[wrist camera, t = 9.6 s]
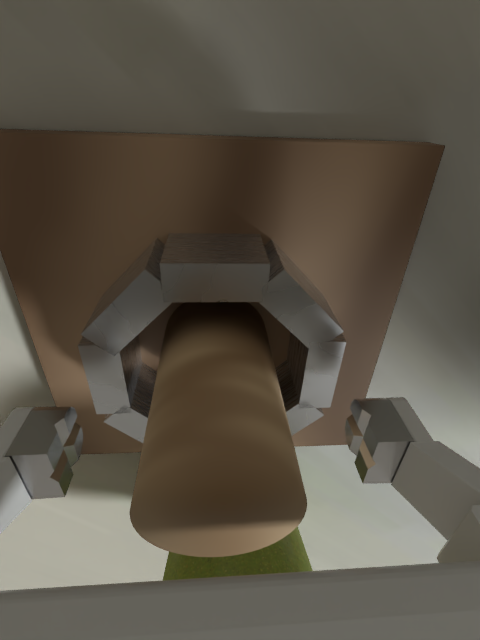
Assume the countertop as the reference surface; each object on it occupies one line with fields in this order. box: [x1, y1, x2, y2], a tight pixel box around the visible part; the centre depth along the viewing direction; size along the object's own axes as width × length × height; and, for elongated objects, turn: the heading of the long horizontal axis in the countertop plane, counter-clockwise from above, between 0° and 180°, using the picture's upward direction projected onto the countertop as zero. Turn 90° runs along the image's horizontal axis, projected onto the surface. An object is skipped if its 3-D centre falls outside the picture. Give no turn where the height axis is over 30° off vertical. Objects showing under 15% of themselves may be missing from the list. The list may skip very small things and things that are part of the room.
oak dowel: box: [130, 302, 307, 557], centre depth 11 cm, size 4×4×7 cm
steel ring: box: [78, 233, 346, 443], centre depth 13 cm, size 8×8×2 cm
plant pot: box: [163, 527, 312, 581], centre depth 18 cm, size 9×9×9 cm
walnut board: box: [0, 129, 445, 454], centre depth 14 cm, size 14×14×1 cm
